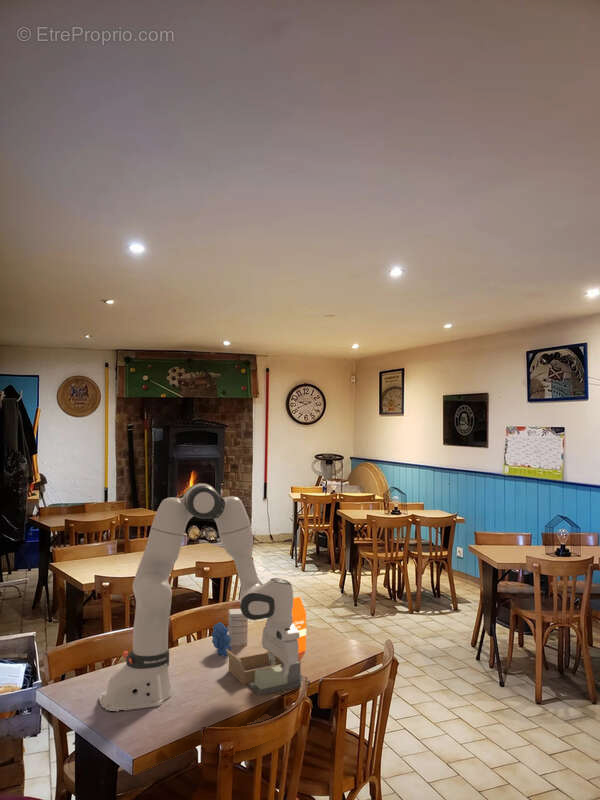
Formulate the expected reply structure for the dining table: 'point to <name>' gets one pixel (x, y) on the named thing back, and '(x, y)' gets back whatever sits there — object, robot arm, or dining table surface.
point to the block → (276, 676)
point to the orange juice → (300, 622)
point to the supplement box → (237, 627)
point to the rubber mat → (275, 687)
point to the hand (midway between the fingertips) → (278, 669)
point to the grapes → (221, 639)
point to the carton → (248, 665)
